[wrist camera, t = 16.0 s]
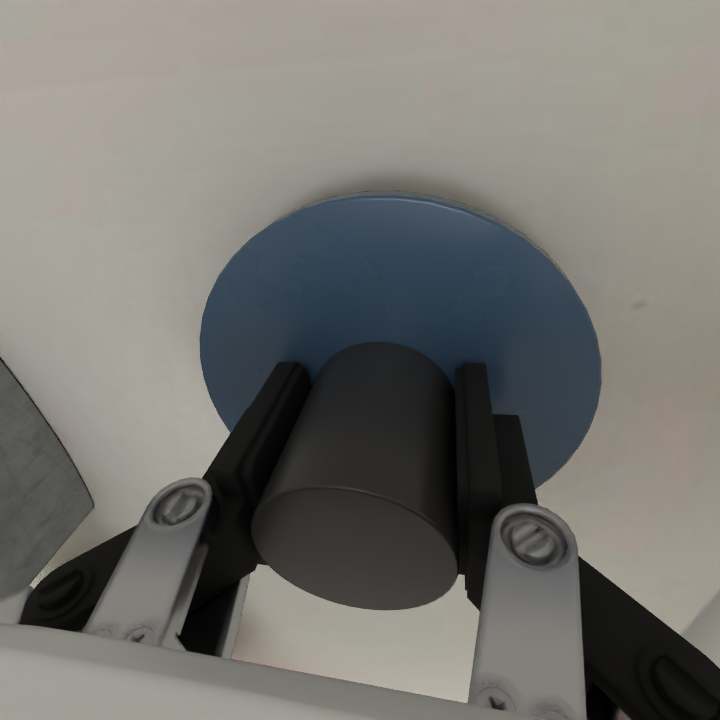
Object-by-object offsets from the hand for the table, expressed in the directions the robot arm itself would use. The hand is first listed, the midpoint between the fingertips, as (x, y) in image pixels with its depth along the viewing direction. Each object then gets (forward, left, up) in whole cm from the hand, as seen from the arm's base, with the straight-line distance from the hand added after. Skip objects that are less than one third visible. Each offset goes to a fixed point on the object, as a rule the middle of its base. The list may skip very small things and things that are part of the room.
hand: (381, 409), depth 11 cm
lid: (0, 0, -1) cm, 1 cm away
